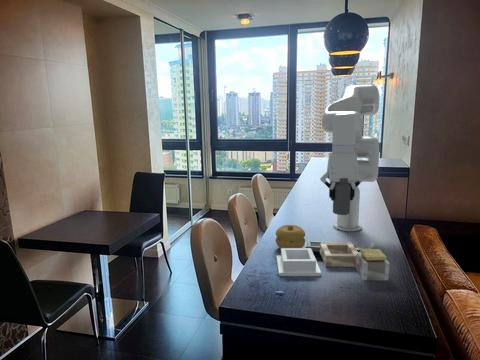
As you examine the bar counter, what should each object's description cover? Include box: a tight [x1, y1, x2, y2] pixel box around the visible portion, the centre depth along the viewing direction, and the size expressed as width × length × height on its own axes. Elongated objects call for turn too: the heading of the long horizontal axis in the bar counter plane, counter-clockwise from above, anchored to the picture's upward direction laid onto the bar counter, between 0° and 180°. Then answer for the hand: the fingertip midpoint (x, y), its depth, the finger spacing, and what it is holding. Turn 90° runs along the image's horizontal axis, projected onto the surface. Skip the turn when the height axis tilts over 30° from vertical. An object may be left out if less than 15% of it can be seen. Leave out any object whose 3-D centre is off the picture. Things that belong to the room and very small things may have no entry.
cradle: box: [276, 247, 322, 277], centre depth 124 cm, size 14×14×5 cm
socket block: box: [319, 242, 390, 281], centre depth 124 cm, size 22×18×6 cm
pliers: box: [347, 240, 374, 253], centre depth 139 cm, size 10×2×15 cm
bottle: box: [332, 178, 351, 215], centre depth 125 cm, size 6×6×15 cm
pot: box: [275, 224, 306, 250], centre depth 139 cm, size 12×12×10 cm
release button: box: [360, 248, 387, 262], centre depth 117 cm, size 6×6×6 cm
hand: (341, 198), depth 126 cm, fingers closed on bottle, 5 cm apart
